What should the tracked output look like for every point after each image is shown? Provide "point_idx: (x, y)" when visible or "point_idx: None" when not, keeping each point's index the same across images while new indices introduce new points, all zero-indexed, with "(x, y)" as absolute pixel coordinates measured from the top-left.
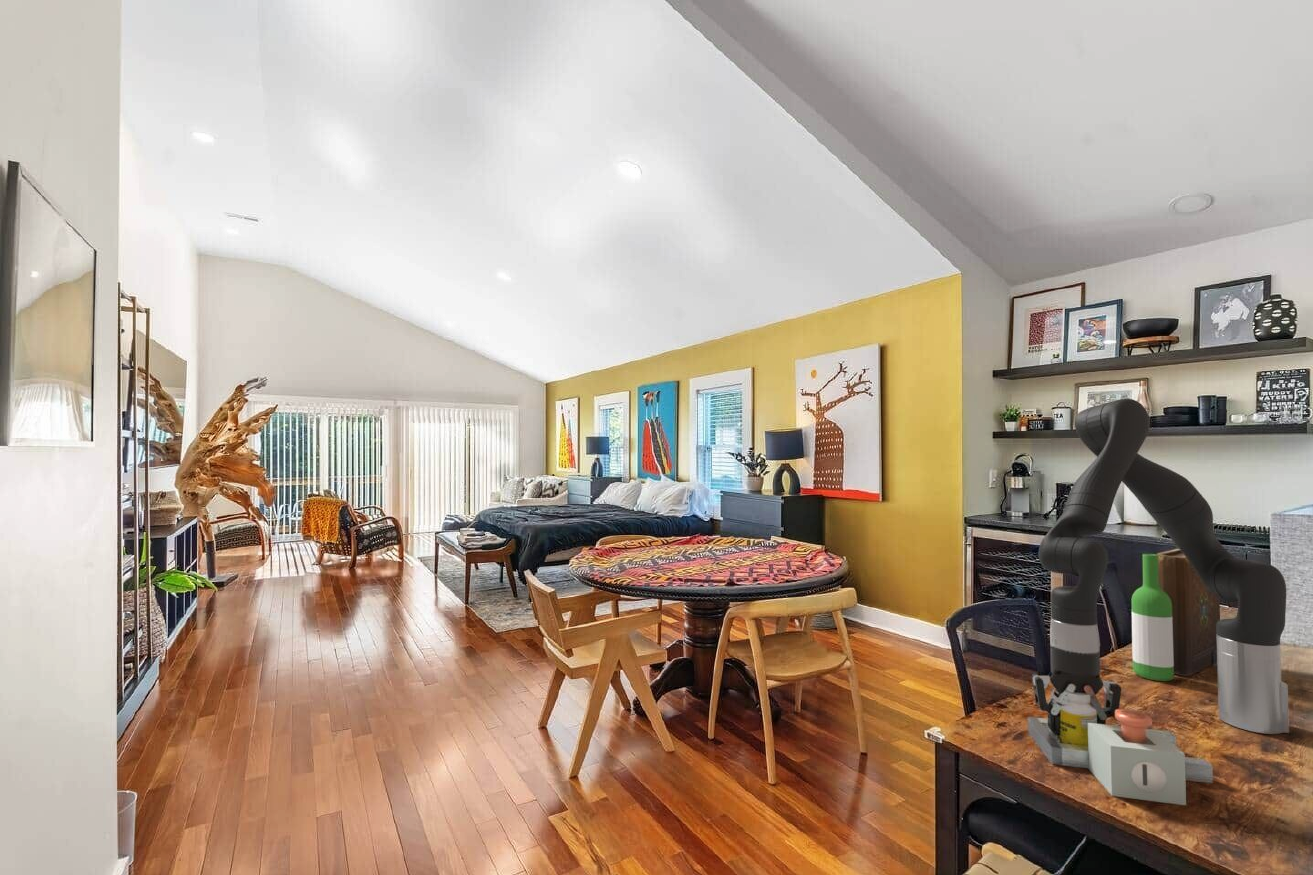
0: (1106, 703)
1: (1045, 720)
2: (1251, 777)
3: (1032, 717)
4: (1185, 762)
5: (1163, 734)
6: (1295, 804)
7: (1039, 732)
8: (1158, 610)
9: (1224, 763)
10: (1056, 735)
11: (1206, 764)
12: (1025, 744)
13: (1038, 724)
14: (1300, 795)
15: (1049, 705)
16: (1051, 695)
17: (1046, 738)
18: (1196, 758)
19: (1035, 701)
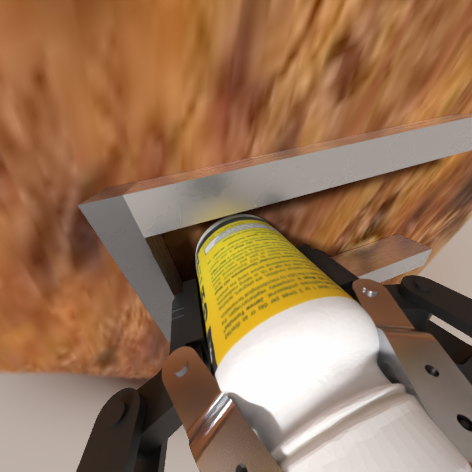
0: (445, 321)
1: (162, 209)
2: (456, 199)
3: (102, 203)
4: (392, 277)
5: (467, 147)
6: (435, 252)
7: (148, 307)
8: None
9: (467, 160)
10: (196, 265)
11: (417, 267)
12: (117, 277)
13: (138, 261)
14: (462, 226)
15: (179, 421)
16: (195, 453)
17: (169, 335)
18: (421, 253)
19: (94, 433)
